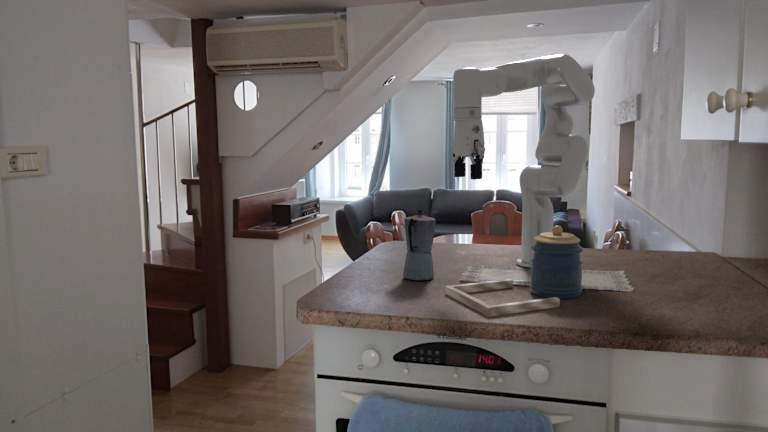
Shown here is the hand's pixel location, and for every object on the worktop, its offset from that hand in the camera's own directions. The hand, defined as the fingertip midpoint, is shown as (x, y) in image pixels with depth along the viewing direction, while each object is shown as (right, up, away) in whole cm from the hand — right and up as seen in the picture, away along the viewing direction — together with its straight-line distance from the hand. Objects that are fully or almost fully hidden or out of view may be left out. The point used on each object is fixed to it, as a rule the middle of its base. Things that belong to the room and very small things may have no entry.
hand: (467, 177), depth 155 cm
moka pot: (-13, -29, +7) cm, 32 cm away
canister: (+21, -31, -10) cm, 39 cm away
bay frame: (+6, -31, -16) cm, 36 cm away
